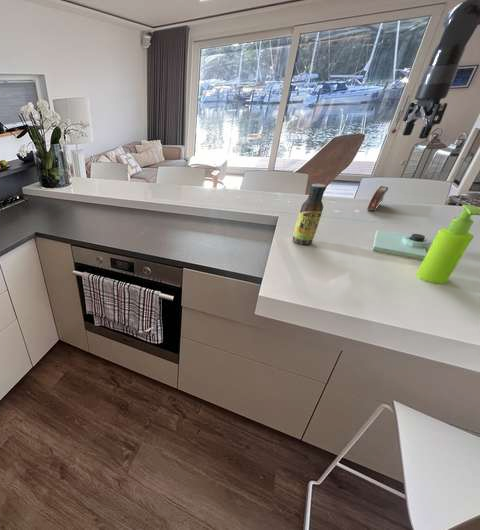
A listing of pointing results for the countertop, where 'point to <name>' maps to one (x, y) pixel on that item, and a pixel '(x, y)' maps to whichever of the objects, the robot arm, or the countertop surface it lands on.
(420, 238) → the tare button
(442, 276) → the soap dispenser
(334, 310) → the countertop surface
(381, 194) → the tin
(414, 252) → the scale
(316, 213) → the sauce bottle
